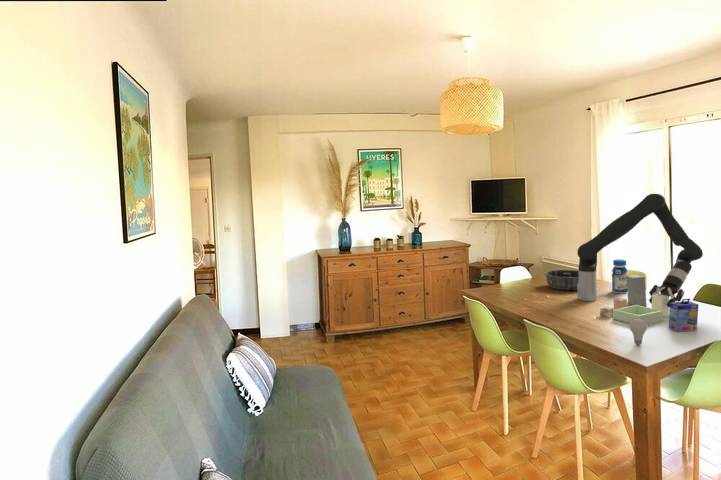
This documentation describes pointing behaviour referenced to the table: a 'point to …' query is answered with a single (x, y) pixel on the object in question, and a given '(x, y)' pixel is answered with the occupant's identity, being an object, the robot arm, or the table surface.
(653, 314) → the tub
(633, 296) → the skincare box
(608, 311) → the beech block
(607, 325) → the table surface
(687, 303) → the ink cartridge box
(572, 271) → the bundt pan
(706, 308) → the table surface
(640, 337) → the lightbulb
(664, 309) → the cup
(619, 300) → the reddish brown block
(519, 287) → the table surface
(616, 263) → the beverage bottle
